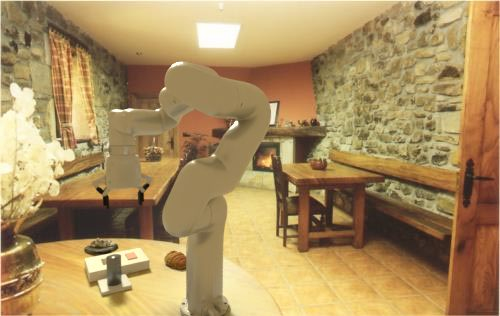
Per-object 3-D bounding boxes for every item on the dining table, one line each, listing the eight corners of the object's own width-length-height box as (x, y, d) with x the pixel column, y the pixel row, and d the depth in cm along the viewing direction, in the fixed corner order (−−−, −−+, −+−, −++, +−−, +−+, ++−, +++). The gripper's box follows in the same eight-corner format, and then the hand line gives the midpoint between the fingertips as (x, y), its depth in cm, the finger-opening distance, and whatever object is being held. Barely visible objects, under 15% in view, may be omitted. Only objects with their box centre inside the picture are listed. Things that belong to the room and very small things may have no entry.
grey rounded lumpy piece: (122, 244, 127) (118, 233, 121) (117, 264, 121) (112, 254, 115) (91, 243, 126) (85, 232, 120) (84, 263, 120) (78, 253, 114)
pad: (131, 288, 93) (131, 285, 93) (101, 295, 89) (101, 292, 89) (125, 276, 100) (125, 273, 100) (97, 283, 95) (97, 280, 95)
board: (149, 268, 106) (149, 259, 105) (89, 282, 96) (89, 271, 96) (140, 255, 116) (140, 246, 115) (84, 266, 106) (84, 257, 106)
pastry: (194, 266, 109) (193, 255, 108) (177, 272, 104) (176, 261, 103) (178, 257, 115) (178, 247, 115) (161, 263, 110) (161, 253, 110)
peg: (122, 283, 94) (122, 257, 93) (108, 287, 91) (107, 260, 91) (120, 278, 97) (119, 253, 96) (105, 281, 95) (105, 255, 94)
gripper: (92, 153, 89) (94, 212, 91) (154, 151, 98) (155, 205, 100) (89, 151, 95) (91, 206, 97) (148, 149, 104) (149, 200, 106)
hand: (124, 206), depth 98 cm, fingers open, 9 cm apart
